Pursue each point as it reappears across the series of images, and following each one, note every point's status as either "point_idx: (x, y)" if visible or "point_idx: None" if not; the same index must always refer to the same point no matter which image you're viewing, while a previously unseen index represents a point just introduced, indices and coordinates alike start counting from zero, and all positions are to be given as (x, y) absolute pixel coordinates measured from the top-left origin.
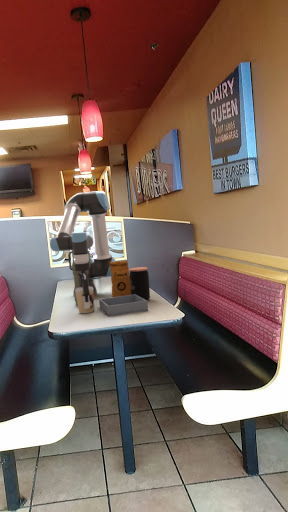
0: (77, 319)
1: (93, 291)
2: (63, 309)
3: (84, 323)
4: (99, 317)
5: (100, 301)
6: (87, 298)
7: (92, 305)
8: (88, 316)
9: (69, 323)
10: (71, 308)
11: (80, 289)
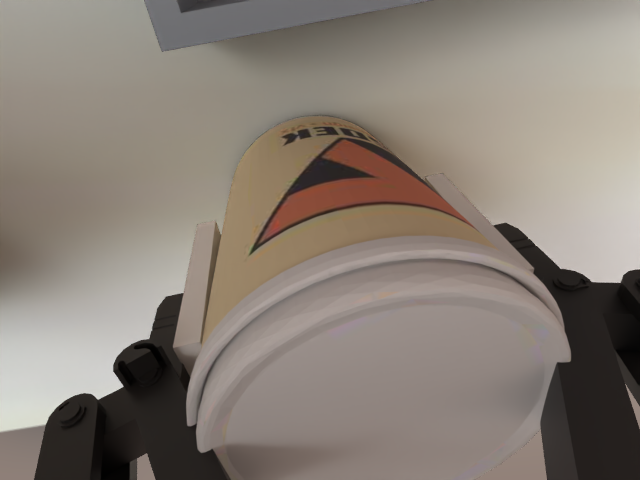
0: (543, 244)
1: (398, 218)
2: (114, 380)
3: None
4: (634, 50)
5: (287, 25)
6: (539, 260)
7: (388, 150)
8: (509, 163)
9: (610, 282)
10: (86, 332)
11: (442, 456)
